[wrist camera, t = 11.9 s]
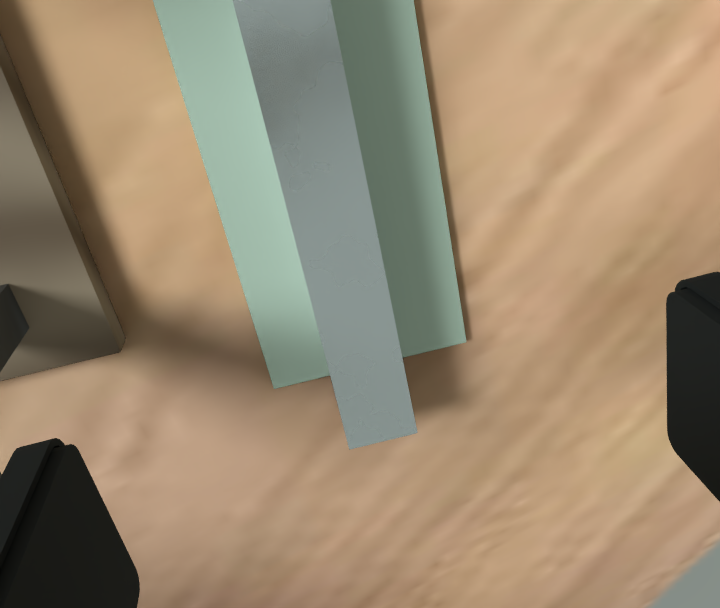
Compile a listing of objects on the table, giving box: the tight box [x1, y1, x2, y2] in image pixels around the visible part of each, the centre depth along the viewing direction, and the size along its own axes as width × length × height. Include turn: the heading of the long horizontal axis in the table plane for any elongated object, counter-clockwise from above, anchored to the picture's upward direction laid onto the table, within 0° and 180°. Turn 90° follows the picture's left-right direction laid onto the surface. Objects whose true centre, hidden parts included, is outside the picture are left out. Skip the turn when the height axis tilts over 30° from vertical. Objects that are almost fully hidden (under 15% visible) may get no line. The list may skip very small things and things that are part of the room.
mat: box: [153, 0, 466, 389], centre depth 27 cm, size 20×9×1 cm, turn 12°
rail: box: [233, 0, 417, 450], centre depth 26 cm, size 24×3×3 cm, turn 12°
